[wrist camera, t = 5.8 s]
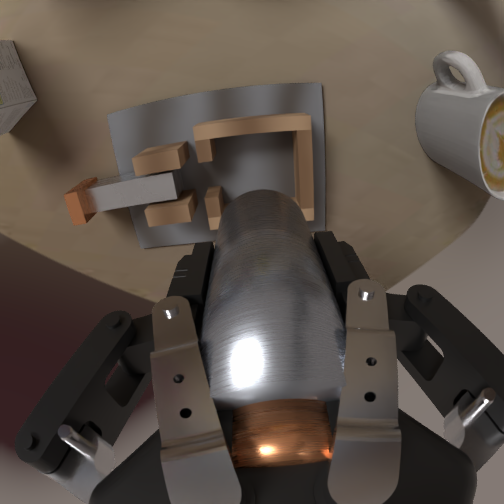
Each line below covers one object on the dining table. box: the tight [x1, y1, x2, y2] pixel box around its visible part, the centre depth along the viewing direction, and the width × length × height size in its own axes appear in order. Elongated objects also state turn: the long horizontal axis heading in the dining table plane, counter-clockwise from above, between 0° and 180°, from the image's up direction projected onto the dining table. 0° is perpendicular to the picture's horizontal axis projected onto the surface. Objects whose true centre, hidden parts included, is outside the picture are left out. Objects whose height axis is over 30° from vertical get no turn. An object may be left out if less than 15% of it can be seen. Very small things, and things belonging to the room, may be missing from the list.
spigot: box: [199, 189, 347, 468], centre depth 10 cm, size 4×4×11 cm
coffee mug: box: [415, 51, 504, 200], centre depth 18 cm, size 13×10×10 cm
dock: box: [107, 83, 325, 248], centre depth 24 cm, size 20×15×4 cm
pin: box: [64, 169, 184, 226], centre depth 24 cm, size 11×3×4 cm, turn 96°
